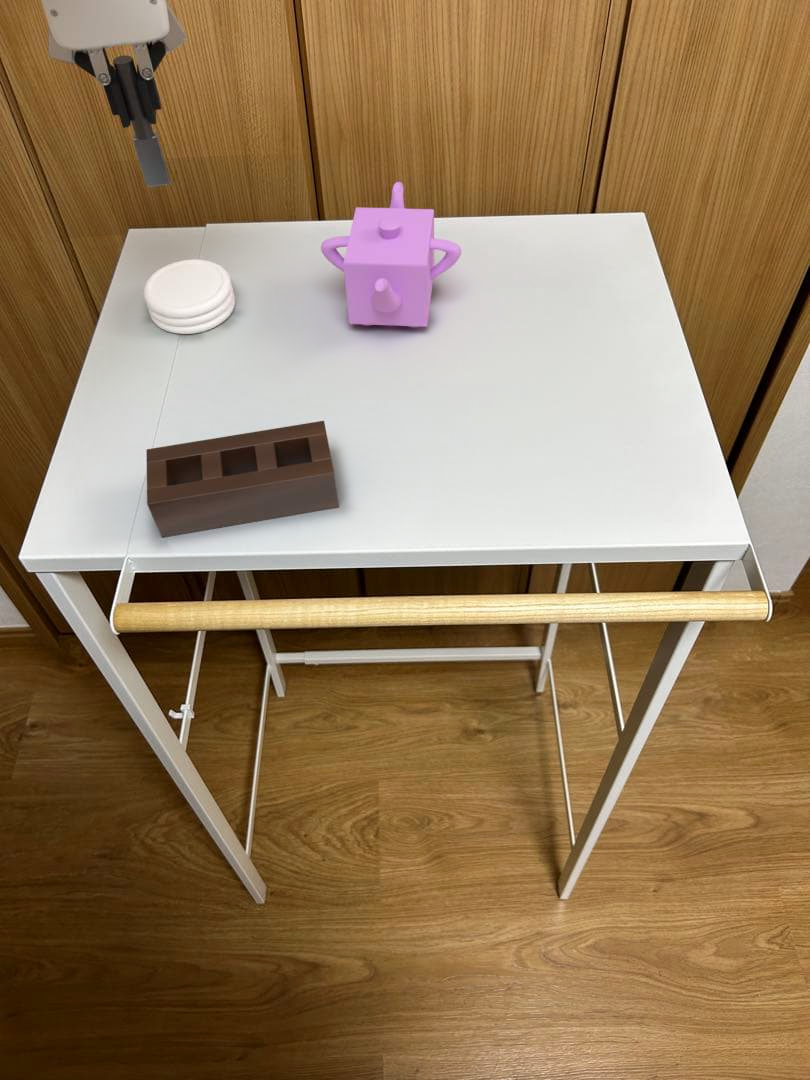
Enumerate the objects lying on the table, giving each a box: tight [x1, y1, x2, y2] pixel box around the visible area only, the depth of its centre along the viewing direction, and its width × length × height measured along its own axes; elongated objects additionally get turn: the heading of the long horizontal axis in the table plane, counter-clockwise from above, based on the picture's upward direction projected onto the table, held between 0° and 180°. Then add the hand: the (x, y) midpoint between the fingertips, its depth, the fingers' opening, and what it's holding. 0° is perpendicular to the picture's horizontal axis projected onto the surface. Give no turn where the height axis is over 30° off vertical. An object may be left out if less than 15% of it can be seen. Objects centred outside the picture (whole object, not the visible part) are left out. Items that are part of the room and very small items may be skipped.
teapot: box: [320, 181, 462, 329], centre depth 92 cm, size 15×13×11 cm
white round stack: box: [143, 258, 236, 335], centre depth 96 cm, size 10×10×4 cm
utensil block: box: [145, 420, 340, 538], centre depth 78 cm, size 7×17×5 cm, turn 101°
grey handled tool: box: [112, 54, 171, 188], centre depth 80 cm, size 2×2×12 cm
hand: (139, 117), depth 80 cm, fingers closed on grey handled tool, 1 cm apart
